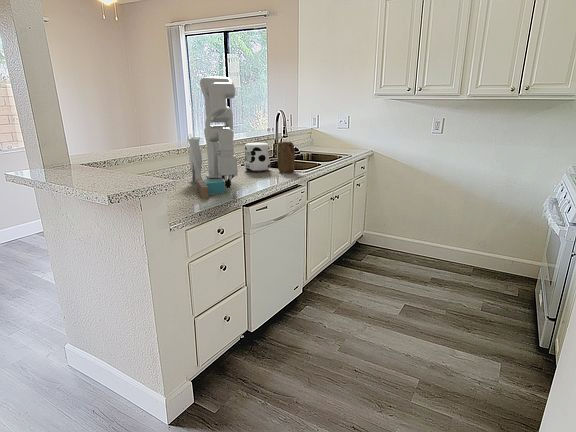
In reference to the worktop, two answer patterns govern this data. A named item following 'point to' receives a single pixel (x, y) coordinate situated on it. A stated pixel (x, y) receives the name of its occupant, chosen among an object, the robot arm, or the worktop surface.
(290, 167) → the block
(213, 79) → the robot arm
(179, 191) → the worktop surface
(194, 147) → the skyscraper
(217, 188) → the teal block
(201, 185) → the walnut board
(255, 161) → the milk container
